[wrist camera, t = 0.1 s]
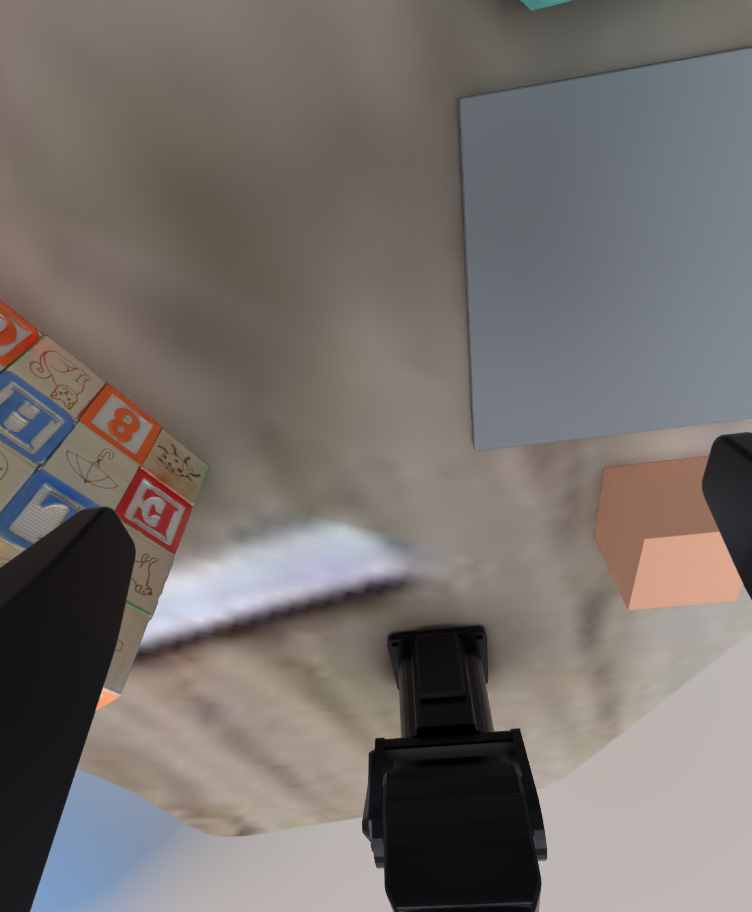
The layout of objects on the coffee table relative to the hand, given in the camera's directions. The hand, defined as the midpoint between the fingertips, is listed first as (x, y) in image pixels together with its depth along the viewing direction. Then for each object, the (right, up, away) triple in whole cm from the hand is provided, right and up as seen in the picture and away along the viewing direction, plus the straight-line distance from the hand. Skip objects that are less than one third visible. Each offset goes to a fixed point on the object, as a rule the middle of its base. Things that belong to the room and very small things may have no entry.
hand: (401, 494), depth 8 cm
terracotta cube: (+14, -2, +20) cm, 24 cm away
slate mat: (+10, +7, +13) cm, 18 cm away
